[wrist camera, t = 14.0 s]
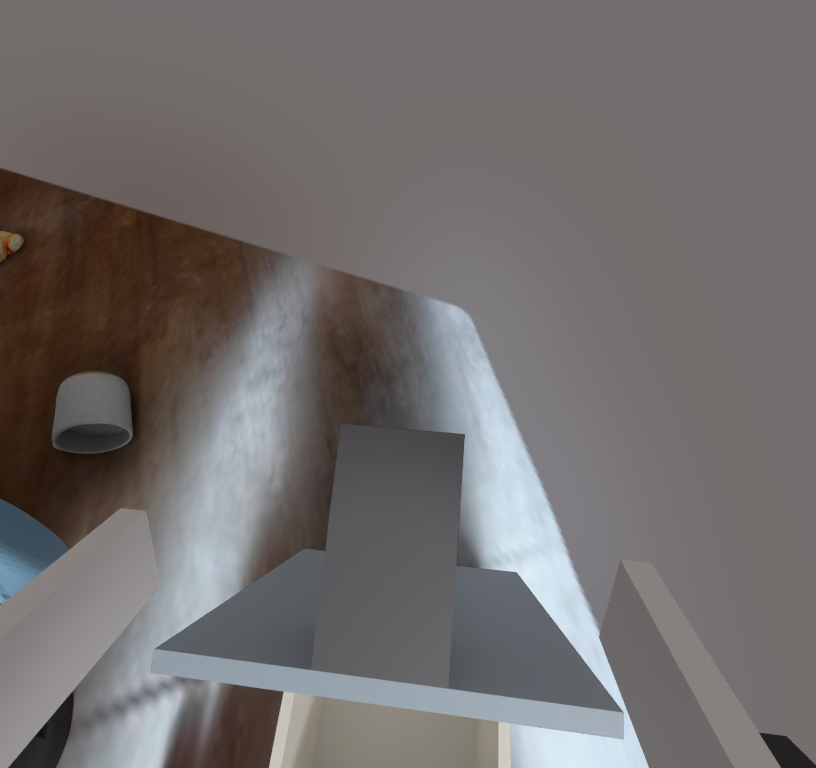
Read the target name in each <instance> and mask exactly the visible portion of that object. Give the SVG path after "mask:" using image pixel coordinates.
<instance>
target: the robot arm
mask: <svg viewBox="0 0 816 768" xmlns="http://www.w3.org/2000/svg"><path fill="white" fill-rule="evenodd" d="M160 587H161V582H160V578H159V573H158V568H157V563H156V558H155V553H154V548H153V543H152V538H151V533H150V528H149V523H148V518H147V513H146V511H142V510H132V509H122V508H121V509H119V510H118V511H117V512H116V513H114V514H113V515H112V516H111V517H109V518H108V519H107V520H106V521H104V522H103V523H102V524H101V525H99V526H98V527H97V528H96V529H95V530H93V531H92V532H91V533H90V534H88V535H87V536H86V537H85V538H83V539H82V540H81V541H80V542H78V543H77V544H76V545H75V546H73V547H72V548H71V549H70V550H69V548H68V547H67V546H66V545H65V544H64V543H63V541H62V540H61V539H60V538H58V537H57V536H56V535H55V534H54V533H53V532H52V531H50V530H49V529H48V528H47V527H45V526H44V525H43V524H41V523H40V522H39V521H37V520H36V519H34V518H33V517H31V516H30V515H28V514H27V513H25V512H23V511H22V510H20V509H18V508H17V507H15V506H13V505H11V504H9V503H7V502H5V501H3V500H1V499H0V768H56V766H57V764H58V762H59V759H60V757H61V754H62V752H63V749H64V746H65V743H66V740H67V736H68V732H69V728H70V722H71V714H72V695H71V692H72V691H73V690H74V689H75V688H76V686H77V685H78V684H79V683H80V682H81V681H82V679H83V678H84V677H85V676H86V675H87V673H88V672H89V671H90V670H91V669H92V667H93V666H94V665H95V664H96V663H97V662H98V660H99V659H100V658H101V657H102V656H103V654H104V653H105V652H106V651H107V650H108V648H109V647H110V646H111V645H112V644H113V642H114V641H115V640H116V639H117V638H118V637H119V635H120V634H121V633H122V632H123V631H124V629H125V628H126V627H127V626H128V625H129V623H130V622H131V621H132V620H133V619H134V618H135V616H136V615H137V614H138V613H139V612H140V610H141V609H142V608H143V607H144V606H145V604H146V603H147V602H148V601H149V600H150V599H151V597H152V596H153V595H154V594H155V593H156V591H157V590H158V589H159V588H160ZM599 638H600V641H601V643H602V646H603V649H604V651H605V654H606V656H607V659H608V662H609V664H610V667H611V669H612V672H613V675H614V677H615V680H616V682H617V685H618V688H619V690H620V693H621V695H622V698H623V701H624V703H625V706H626V708H627V711H628V714H629V716H630V719H631V722H632V724H633V727H634V729H635V732H636V735H637V737H638V740H639V742H640V745H641V748H642V750H643V753H644V755H645V758H646V761H647V763H648V766H649V768H816V765H815V764H814V763H813V762H812V761H811V760H810V759H809V758H808V757H807V756H806V755H805V754H804V753H803V752H802V751H801V750H800V749H799V748H798V747H797V746H796V745H795V744H794V743H792V741H791V740H790V739H789V738H787V736H780V735H773V734H765V733H759V732H758V731H757V729H756V728H755V726H754V724H753V723H752V721H751V720H750V718H749V717H748V715H747V713H746V712H745V710H744V709H743V707H742V706H741V704H740V702H739V701H738V699H737V698H736V696H735V695H734V693H733V691H732V690H731V688H730V687H729V685H728V683H727V682H726V680H725V679H724V677H723V676H722V674H721V672H720V671H719V669H718V668H717V666H716V665H715V663H714V662H713V660H712V658H711V657H710V655H709V654H708V652H707V650H706V649H705V647H704V646H703V644H702V643H701V641H700V639H699V638H698V636H697V635H696V633H695V632H694V630H693V628H692V627H691V625H690V624H689V622H688V621H687V619H686V617H685V616H684V614H683V613H682V611H681V610H680V608H679V606H678V605H677V603H676V602H675V600H674V599H673V597H672V595H671V594H670V592H669V591H668V589H667V588H666V586H665V584H664V583H663V581H662V580H661V578H660V577H659V575H658V573H657V572H656V570H655V569H654V567H653V566H652V564H651V563H647V562H637V561H627V560H620V563H619V567H618V571H617V575H616V578H615V582H614V585H613V589H612V592H611V596H610V600H609V603H608V607H607V611H606V614H605V618H604V621H603V625H602V629H601V632H600V636H599Z"/></svg>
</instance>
